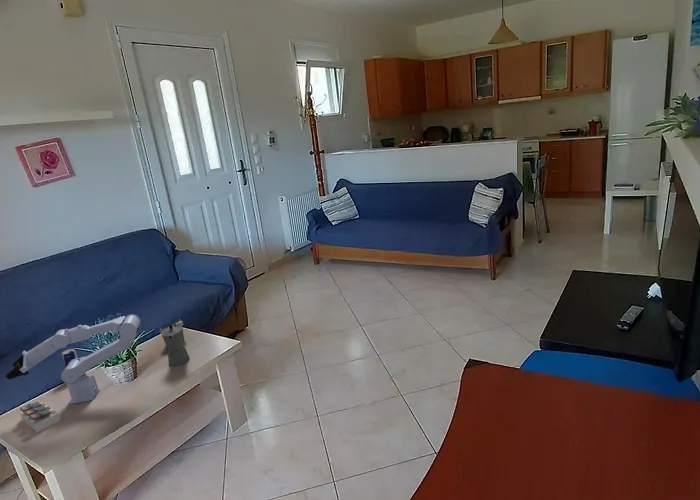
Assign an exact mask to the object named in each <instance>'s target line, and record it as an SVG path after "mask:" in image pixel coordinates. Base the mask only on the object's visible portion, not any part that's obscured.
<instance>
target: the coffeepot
mask: <svg viewBox="0 0 700 500" xmlns="http://www.w3.org/2000/svg"><path fill="white" fill-rule="evenodd" d="M171 324H172V325H170V324H169V325H168V326H169V328H168V329H166V330H164V331H163V332H162V333H160V334H161V337H162V339H163V341H164V344H165V346H166V348H167V357H168V358H167V359H168V364H169V365H170V366H174V367H176V366H180V365H183V364H185V363H187V362H188V361H189V360H190V358H191V357H190V355H189V353H188V351H187V349H186V346H185V345H184V342H185V338H184V339H183V335H184V329H182V328H183V327H182V328H181V327H177V325H176V324H173V323H171Z"/></svg>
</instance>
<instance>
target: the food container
mask: <svg viewBox="0 0 700 500" xmlns="http://www.w3.org/2000/svg"><path fill="white" fill-rule="evenodd" d="M172 324H176V325H177V327H181V328H182V329H183V326H184V322H183V320H181V319H180V318H178V320H177V321H175V322H174V323H171V324H169V325H172ZM169 325H167V326H166V327H164V328H159V334H161V333H162V332H163V331H164V330H166V329H168V328H169ZM183 330H184V329H183ZM183 339H184V340H185V335H184V334H183Z"/></svg>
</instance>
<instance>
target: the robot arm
mask: <svg viewBox="0 0 700 500" xmlns="http://www.w3.org/2000/svg"><path fill="white" fill-rule="evenodd" d="M140 328H141V319H140V317H139V316H138V315H136V314H128V315H127V316H126V315H123V316H120V317H117V318H113V319H111V320H107V321H105V322H100V323H98V324H95V325H92V326H89V325H88V324H83V325H82V324H78V325H77V326H75V327H71V328H65V329H59V330H57V331H56V333H55V334H54V335H53V336H50V337H48V339H46V340H44V341H42V342H41V343H39V344H38V345H36V346H34V347H33V348H32V349H30V350H29V349H26V348H25V349H24V350H23V351H22V352H21V355H20V356H19V357H18V358H17V359H16V360H15V361H14V362H13V364H12V366H13V368H12V369H11V370H9V371H8V372H7V373H6V374H5V378H6V379H8V381H9V380H12V379H14V378H18V377H22V376H27V375H28V374H29V373H30V371H29V370H30V369H31V368H33V367H35V366H37V365H38V363H40V362H42V361H43V360H45V359H46V358H47V357H49V356H51V355H52V354H54V353H55V352H57V351H58V350H60V349H65V348H66V347H67V346H68V345H70V344H74V343H78V342H83V341H85V340H89V339H91V337H92V336H93V335H94V336H95V335H97V334H101V333H106V332H111V331H112V332H113V333H114V334H116V335H118V334H119V338H118V339H116V340H115V341H113V342H111V343H109V344H107V345H105V346H103V347H102V348H100V349H97V350H95V351H93V352H92V353H90V354H88V355H87V356H81V357H79V358H78V359H73V360H71V361H70V362H69V364H68V366H67V367H66V366H65V368H64V370H63V371H62V372H61V374H60V378H61V380H62V382H64V383H66V386H67V389H68V392H69V395H70V400H69V401H68V403H67V405H73V404H79V403H84V402H90V401H93V400H94V398H95V397H96V395H97V394H98V392H99V391H100V388H99V387H98V384H97V380H96V378H95V376H94V375H89V374H86V373H87V372H89V370H91V369H92V368H95V367H96V366H99V364H102V363H103V362H105V361H107V360H108V359H111V358H113V357H115V356H116V355H118V354H120V353H122V352H124V351H125V350H127V349H129V348H131V346H132V345H133V343H134V341H135V338H136V336H137V334H138V332H139V330H140Z"/></svg>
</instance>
